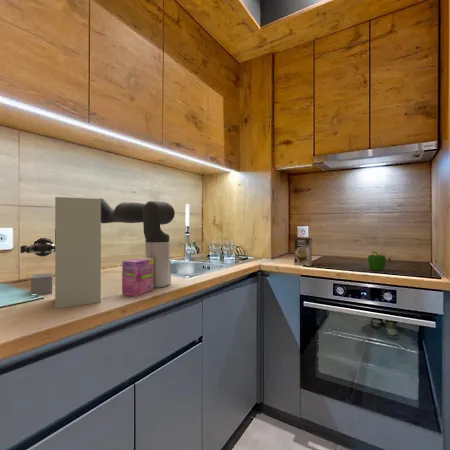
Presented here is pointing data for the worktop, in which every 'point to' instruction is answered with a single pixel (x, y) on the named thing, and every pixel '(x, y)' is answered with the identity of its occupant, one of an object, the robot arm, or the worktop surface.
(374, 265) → the bell pepper
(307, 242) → the coffee box
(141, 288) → the box
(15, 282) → the worktop surface
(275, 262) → the worktop surface
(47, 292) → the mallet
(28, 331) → the worktop surface
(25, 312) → the worktop surface
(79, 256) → the stand
